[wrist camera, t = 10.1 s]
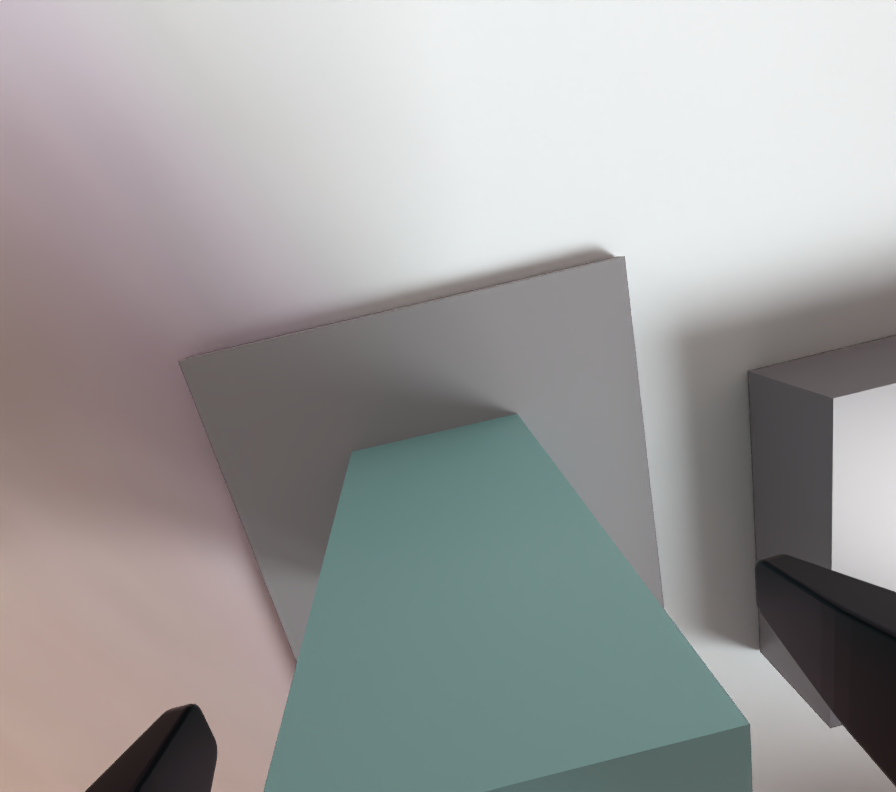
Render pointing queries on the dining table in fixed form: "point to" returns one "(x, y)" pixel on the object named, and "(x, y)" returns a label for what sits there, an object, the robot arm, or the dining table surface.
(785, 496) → the grey slab with hole
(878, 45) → the dining table surface
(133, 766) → the robot arm
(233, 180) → the dining table surface
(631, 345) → the mat
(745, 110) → the dining table surface
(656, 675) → the plug
